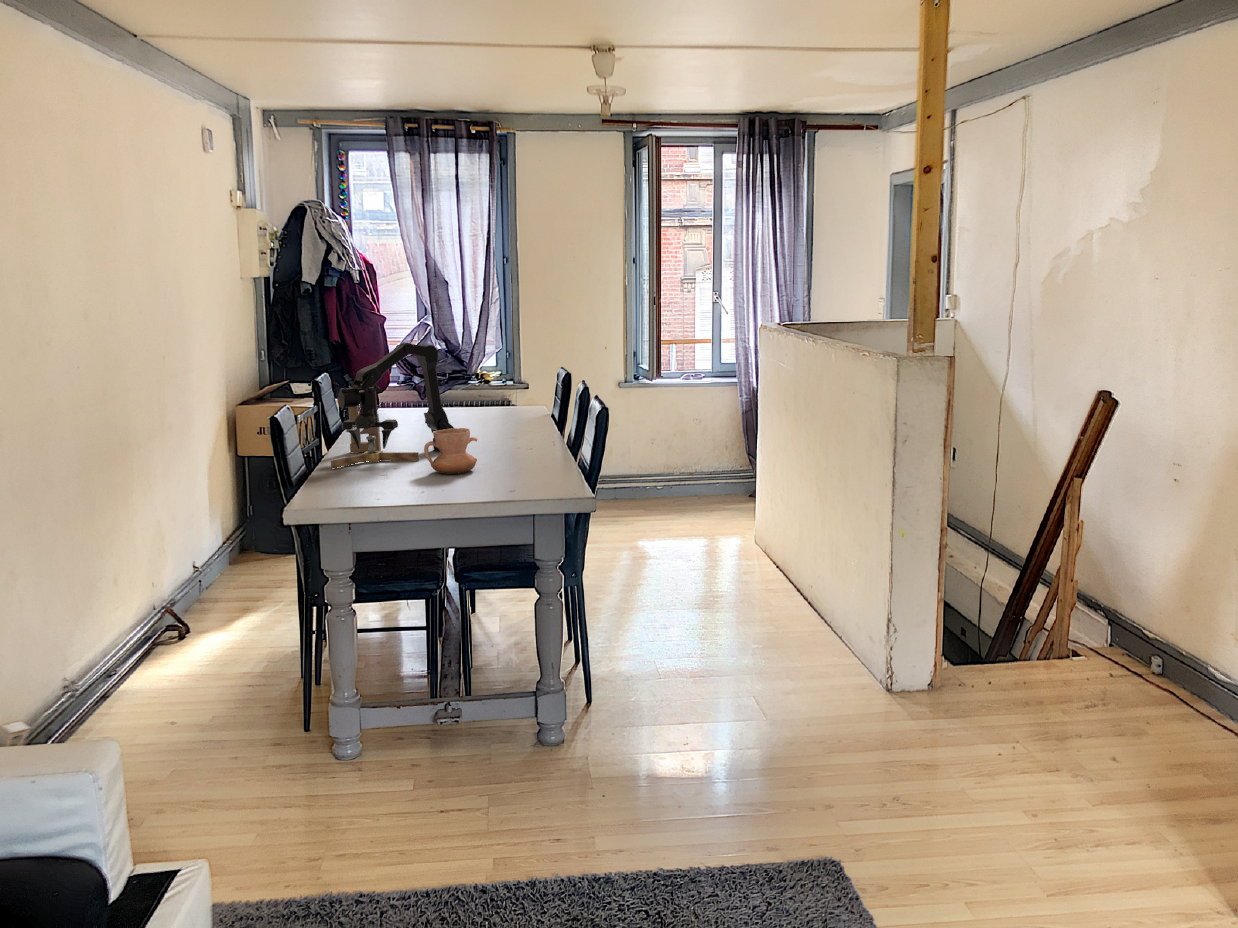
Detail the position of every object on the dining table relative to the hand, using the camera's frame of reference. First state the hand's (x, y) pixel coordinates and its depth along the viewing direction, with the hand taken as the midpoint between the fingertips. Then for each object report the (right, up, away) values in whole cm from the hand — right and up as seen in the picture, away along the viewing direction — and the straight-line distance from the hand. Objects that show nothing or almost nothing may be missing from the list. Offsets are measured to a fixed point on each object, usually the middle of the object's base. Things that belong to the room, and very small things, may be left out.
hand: (371, 448), depth 364 cm
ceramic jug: (+32, -8, -22) cm, 40 cm away
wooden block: (-7, -1, +19) cm, 20 cm away
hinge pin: (0, -4, +1) cm, 4 cm away
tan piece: (+3, -6, -6) cm, 9 cm away
